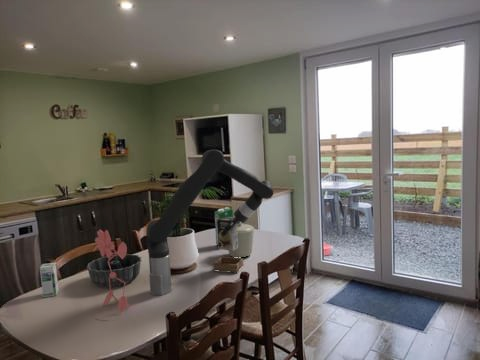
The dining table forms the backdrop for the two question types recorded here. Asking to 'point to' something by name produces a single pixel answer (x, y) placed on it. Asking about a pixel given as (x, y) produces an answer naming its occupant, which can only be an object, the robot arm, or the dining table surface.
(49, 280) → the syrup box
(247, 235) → the canister
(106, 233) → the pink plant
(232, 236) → the coffee box
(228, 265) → the walnut crate
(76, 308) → the dining table surface
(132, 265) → the bundt pan
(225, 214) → the milk carton
